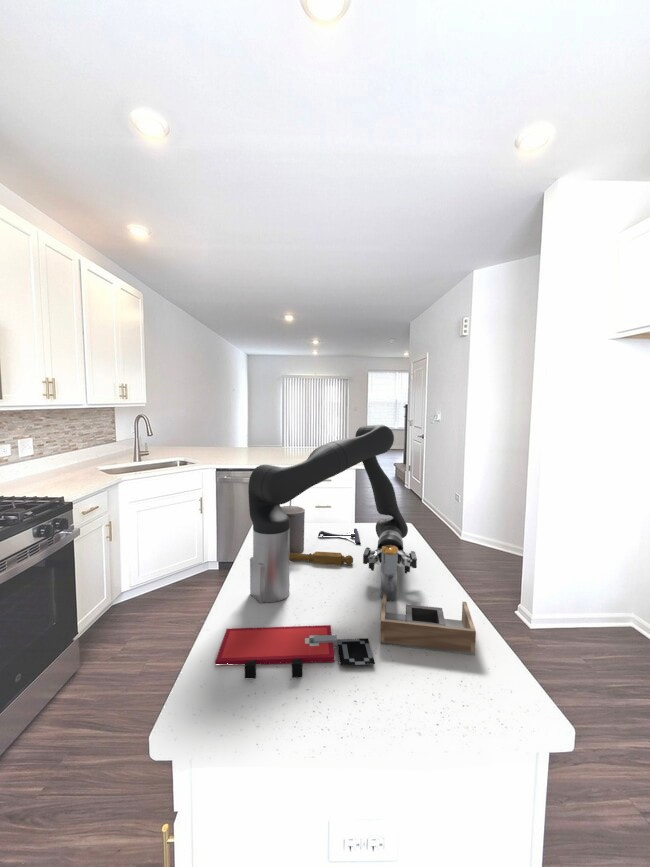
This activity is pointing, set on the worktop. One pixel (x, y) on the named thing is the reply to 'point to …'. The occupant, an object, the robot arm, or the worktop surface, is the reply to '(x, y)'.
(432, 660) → the worktop surface
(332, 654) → the red board with handle
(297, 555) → the tap handle
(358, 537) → the bracket
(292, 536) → the pillar candle
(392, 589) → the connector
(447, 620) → the socket box
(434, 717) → the worktop surface
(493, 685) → the worktop surface
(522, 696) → the worktop surface
